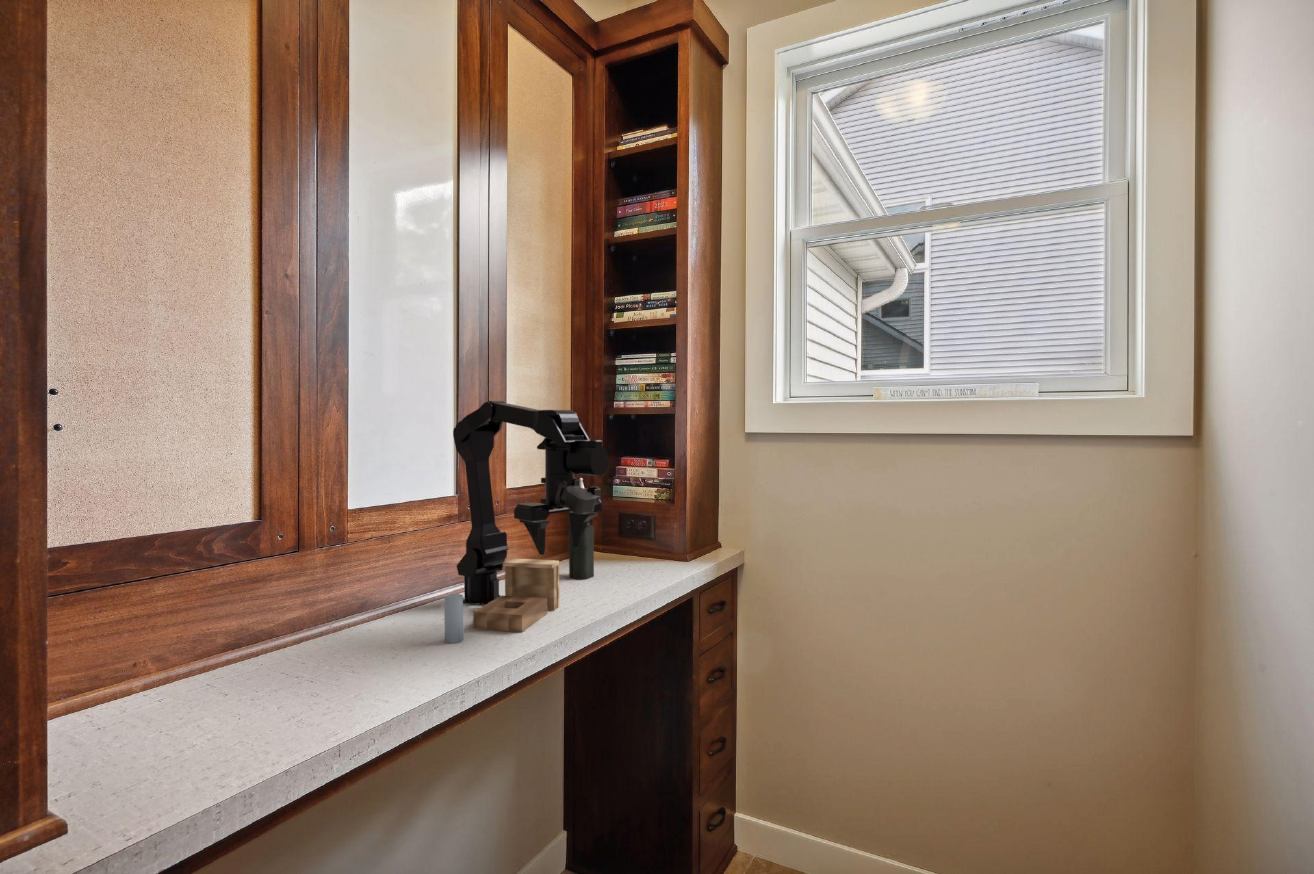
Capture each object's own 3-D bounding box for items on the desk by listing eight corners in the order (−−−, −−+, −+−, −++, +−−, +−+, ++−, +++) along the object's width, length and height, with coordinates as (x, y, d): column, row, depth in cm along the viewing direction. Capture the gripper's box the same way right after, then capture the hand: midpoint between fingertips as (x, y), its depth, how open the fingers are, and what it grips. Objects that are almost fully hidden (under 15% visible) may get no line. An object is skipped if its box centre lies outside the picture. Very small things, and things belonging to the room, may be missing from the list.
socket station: (471, 628, 127) (470, 577, 127) (511, 603, 144) (511, 558, 144) (524, 632, 125) (524, 580, 124) (559, 606, 142) (559, 560, 141)
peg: (441, 642, 119) (440, 598, 119) (450, 637, 122) (450, 593, 122) (457, 644, 118) (457, 599, 118) (466, 638, 121) (466, 594, 121)
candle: (567, 577, 167) (566, 478, 167) (578, 573, 172) (578, 476, 171) (584, 580, 165) (583, 479, 164) (595, 575, 169) (595, 477, 169)
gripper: (551, 479, 120) (551, 565, 121) (621, 472, 135) (621, 549, 135) (512, 475, 127) (512, 556, 128) (582, 469, 142) (582, 542, 142)
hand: (559, 550), depth 133 cm, fingers open, 9 cm apart
